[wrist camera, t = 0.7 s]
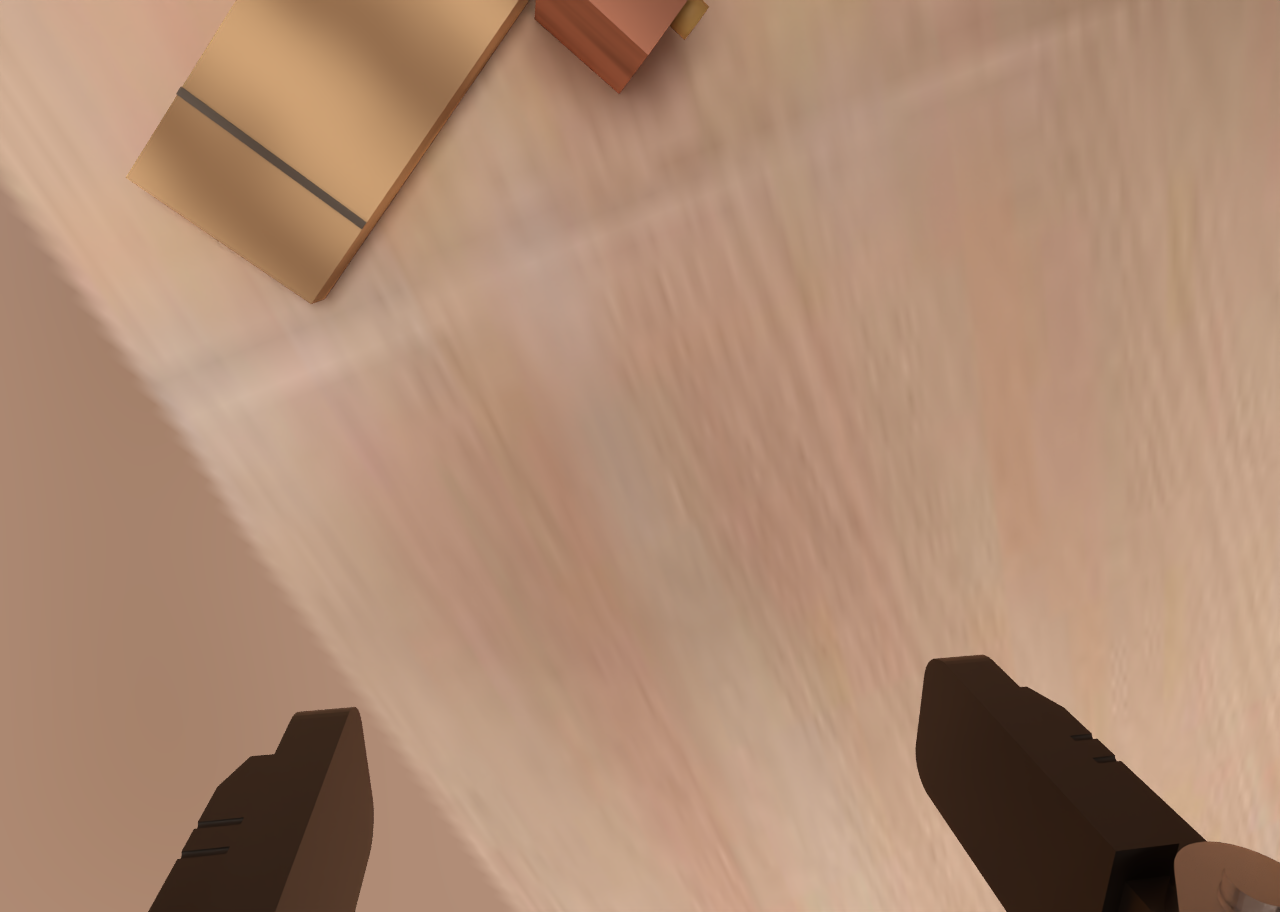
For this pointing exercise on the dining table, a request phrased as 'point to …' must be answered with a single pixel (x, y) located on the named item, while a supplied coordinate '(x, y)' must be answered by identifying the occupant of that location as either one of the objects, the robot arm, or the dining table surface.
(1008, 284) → the dining table surface
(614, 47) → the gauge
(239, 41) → the board
